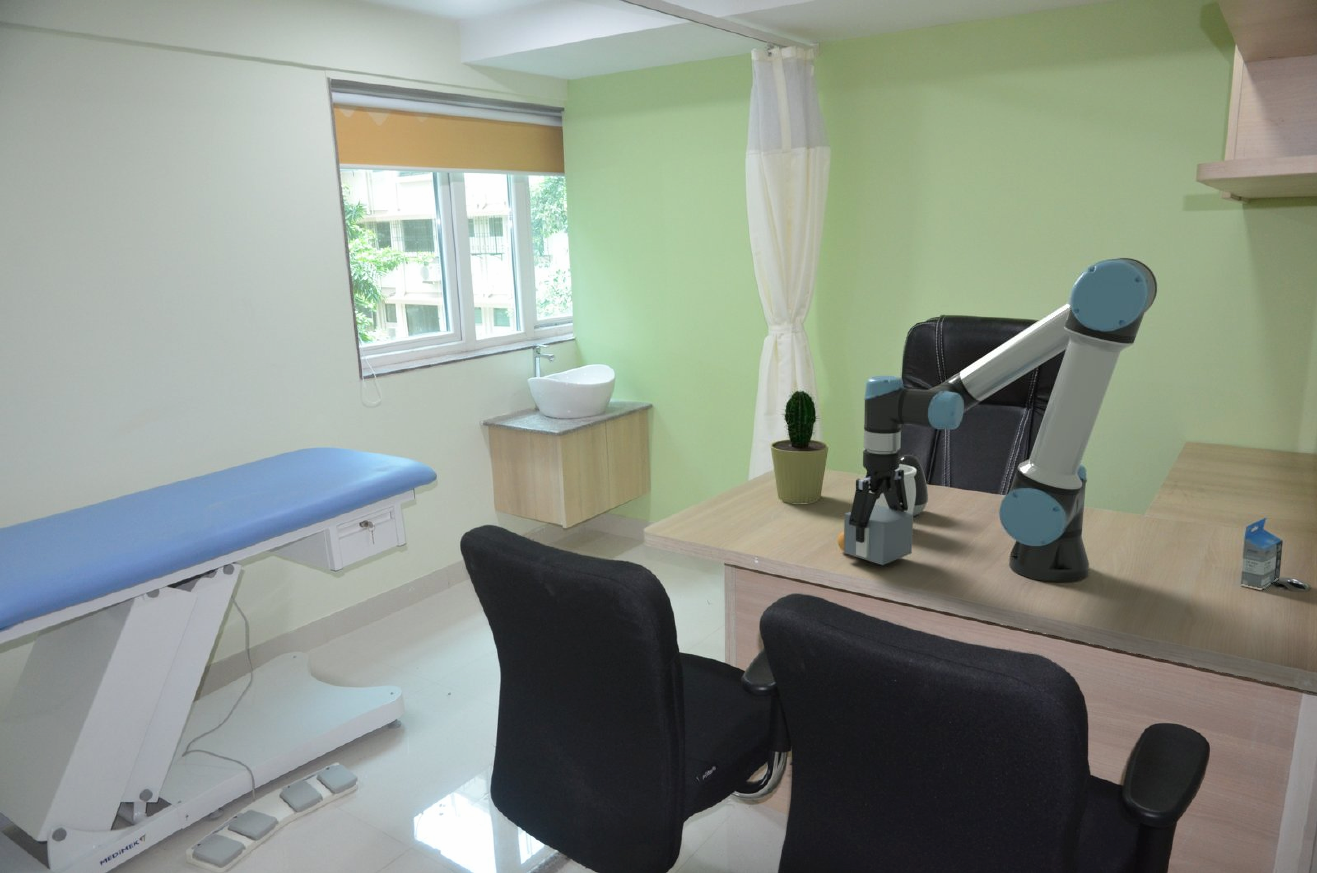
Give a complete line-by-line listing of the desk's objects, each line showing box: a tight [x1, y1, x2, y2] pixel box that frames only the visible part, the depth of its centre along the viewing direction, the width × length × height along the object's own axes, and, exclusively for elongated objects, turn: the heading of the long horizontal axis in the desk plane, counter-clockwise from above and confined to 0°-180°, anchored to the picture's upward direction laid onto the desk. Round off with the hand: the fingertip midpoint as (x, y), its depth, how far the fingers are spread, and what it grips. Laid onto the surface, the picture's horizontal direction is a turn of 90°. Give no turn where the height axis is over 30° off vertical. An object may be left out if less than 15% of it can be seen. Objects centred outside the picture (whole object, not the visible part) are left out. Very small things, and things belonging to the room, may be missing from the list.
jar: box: [870, 464, 916, 514], centre depth 211 cm, size 11×10×15 cm
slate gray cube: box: [843, 505, 914, 566], centre depth 190 cm, size 10×10×9 cm
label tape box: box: [1240, 517, 1284, 588], centre depth 173 cm, size 9×4×12 cm, turn 126°
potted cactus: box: [769, 389, 830, 504], centre depth 236 cm, size 15×15×30 cm
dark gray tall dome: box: [899, 453, 929, 517], centre depth 222 cm, size 10×10×15 cm
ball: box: [837, 531, 844, 552], centre depth 197 cm, size 5×5×5 cm
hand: (877, 549), depth 191 cm, fingers closed on slate gray cube, 10 cm apart
